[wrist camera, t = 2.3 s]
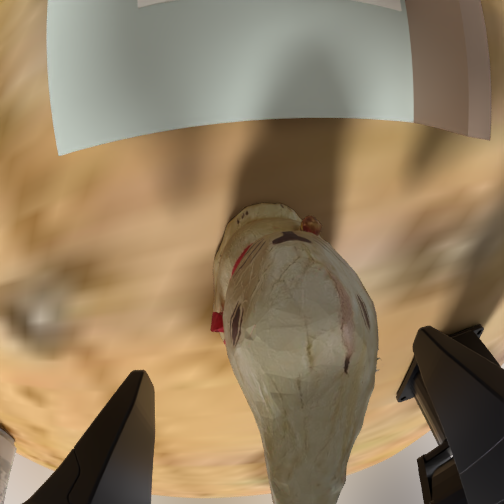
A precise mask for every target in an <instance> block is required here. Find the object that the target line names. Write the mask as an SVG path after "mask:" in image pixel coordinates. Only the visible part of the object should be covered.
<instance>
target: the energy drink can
mask: <svg viewBox="0 0 504 504" xmlns="http://www.w3.org/2000/svg"><path fill="white" fill-rule="evenodd" d="M14 442H15V441H14V439H13V438H12V437H11V436H10V435H8V434H7V433H6V432H5V431H3V430H2V429H0V504H4V499H5V494H6V489H7V484H8V480H9V475H10V471H11V467H12V463H13V460H14V456H15V453H16V447H15V445H14Z"/></svg>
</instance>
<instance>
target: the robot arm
mask: <svg viewBox="0 0 504 504" xmlns="http://www.w3.org/2000/svg"><path fill="white" fill-rule="evenodd" d="M483 330H484V328H483V326H482V325H481V324H478V325H476V326H473V327H471V328H468V329H466V330H463V331H460V332H458V333H455V334H452V335H450V336H447V335H445V334H444V333H442V332H440V331H438V330H437V329H435V328H433V327H431V326H425V327H422V328H420V329H419V330H418V332H417V335H416V337H415V340H414V343H413V352H414V355H415V358H414V360H413V363H412V365H411V367H410V369H409V371H408V374H407V376H406V378H405V380H404V382H403V384H402V386H401V388H400V390H399V392H398V394H397V396H396V399H397V401H398V402H402V401H405V400H408V399H411V398H413V397H414V398H415V399H416V401H417V403H418V405H419V407H420V409H421V411H422V413H423V415H424V417H425V419H426V421H427V423H428V425H429V427H430V429H431V431H432V433H433V435H434V437H435V439H436V441H437V443H438V445H439V446H438V447H436V448H435V449H433V450H432V451H431V452H429V453H427V454H425V455H423V456H421V457H419V458H418V459H417V463H418V471H419V476H420V482H421V487H422V493H423V500H424V504H504V369H502V368H501V367H500V365H499V363H498V362H497V361H496V359H495V358H494V357H493V355H492V354H491V353H490V352H489V350H488V349H487V348H486V346H485V345H484V344H483V343H482V341H481V340H480V339H479V338H480V336H481V334H482V332H483ZM154 443H155V392H154V386H153V384H152V382H151V380H150V378H149V376H148V374H147V372H146V371H145V370H133V371H132V372H131V373H130V374H129V375H128V377H127V378H126V379H125V381H124V382H123V383H122V384H121V386H120V387H119V388H118V390H117V391H116V392H115V394H114V395H113V396H112V397H111V399H110V400H109V401H108V403H107V404H106V405H105V407H104V408H103V409H102V411H101V412H100V413H99V414H98V416H97V417H96V418H95V420H94V421H93V422H92V424H91V425H90V426H89V428H88V429H87V430H86V432H85V433H84V434H83V436H82V437H81V438H80V440H79V441H78V442H77V444H76V445H75V446H74V449H72V450H71V452H70V453H69V454H68V456H67V457H66V458H65V460H64V461H63V462H62V463H61V465H60V466H59V467H58V468H57V469H56V471H55V472H54V473H53V474H52V475H51V476H50V477H49V478H48V480H46V482H45V483H44V484H43V485H42V486H41V487H40V488H39V489H38V490H37V491H36V492H35V493H34V494H33V495H32V496H31V497H30V498H29V499H28V500H27V501H25V502H24V503H22V504H151V489H152V470H153V455H154ZM451 455H453V457H452V458H451V457H450V456H451Z"/></svg>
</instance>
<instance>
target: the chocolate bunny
mask: <svg viewBox="0 0 504 504" xmlns="http://www.w3.org/2000/svg"><path fill="white" fill-rule="evenodd" d="M321 229H322V225H321V223H320V222H319V221H318V220H317V219H316V218H314V217H313V216H306V217H305V218H304V219H303V221H302V220H301V219H300V218H299V217H298V215H297V214H296V212H295V211H294V210H293V209H291V208H290V207H288V206H286V205H284V204H282V203H278V204H275V203H260V204H255V205H251V206H248V207H245V208H244V209H243V210H242V211H241V212H240V213H239V214H238V215H237V216H236V217H234V218H232V220H231V221H230V222H229V223H228V225H227V227H226V230H225V234H224V238H223V241H222V243H221V246H220V248H219V250H218V252H217V254H216V257H215V260H214V266H213V280H214V304H213V315H212V323H211V331H212V332H219V333H220V335H221V338H222V340H223V342H224V344H225V346H226V348H227V354H228V358H229V361H230V363H231V366H232V369H233V372H234V374H235V376H236V378H237V380H238V383H239V385H240V387H241V389H242V391H243V393H244V395H245V397H246V399H247V402H248V404H249V406H250V408H251V410H252V412H253V415H254V418H255V420H256V423H257V426H258V428H259V431H260V434H261V438H262V443H263V447H264V454H265V462H266V468H267V474H268V479H269V483H270V488H271V494H272V500H273V503H274V504H336V503H337V500H338V497H339V495H340V492H341V490H342V488H343V486H344V484H345V481H346V467H347V462H348V459H349V456H350V452H351V449H352V447H353V444H354V442H355V440H356V438H357V436H358V434H359V433H360V430H361V428H362V425H363V421H364V416H365V413H366V409H367V406H368V402H369V399H370V396H371V394H372V391H373V389H374V383H375V372H376V371H378V370H376V364H377V360H378V359H379V358H377V351H378V350H379V349H378V326H377V316H376V311H375V307H374V304H373V301H372V300H371V298H370V296H369V294H368V293H367V291H366V289H365V287H364V286H363V284H362V282H361V281H360V279H359V277H358V276H357V274H356V273H355V271H354V270H353V269H352V268H351V267H350V266H349V264H348V263H347V262H346V261H345V260H344V259H343V258H342V257H341V256H340V255H339V254H338V253H337V252H336V251H335V250H334V249H333V248H332V246H331V245H330V244H329V243H328V242H326V241H325V240H323V239H322V238H321V236H320V235H319V234H320V231H321ZM381 361H382V360H381Z"/></svg>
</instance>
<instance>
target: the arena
mask: <svg viewBox="0 0 504 504" xmlns="http://www.w3.org/2000/svg"><path fill="white" fill-rule="evenodd" d="M47 67H48V82H49V93H50V103H51V111H52V119H53V126H54V132H55V138H56V144H57V149H58V155H59V156H61V155H64V154H68V153H71V152H74V151H78V150H82V149H85V148H89V147H93V146H97V145H101V144H105V143H109V142H113V141H117V140H122V139H126V138H131V137H136V136H141V135H146V134H151V133H157V132H162V131H168V130H174V129H181V128H187V127H194V126H202V125H210V124H218V123H228V122H238V121H250V120H264V119H284V118H360V119H379V120H393V121H404V122H414V123H418V124H423V125H427V126H431V127H435V128H439V129H443V130H447V131H450V132H454V133H458V134H461V135H464V136H468V137H474V138H479V139H485V140H490V133H491V72H490V59H489V49H488V40H487V33H486V26H485V20H484V15H483V10H482V5H481V0H48V9H47Z"/></svg>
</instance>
